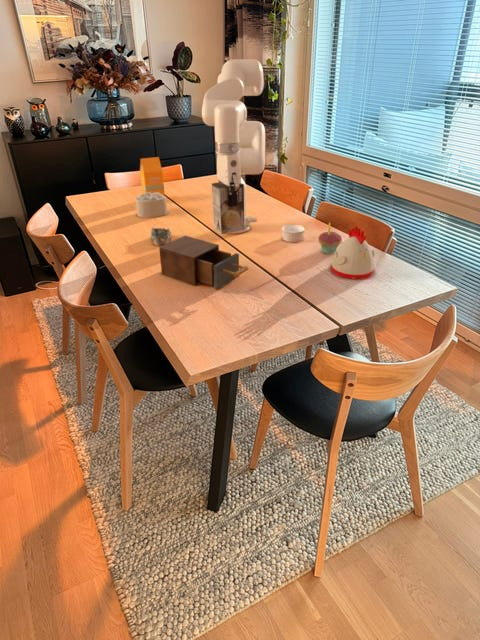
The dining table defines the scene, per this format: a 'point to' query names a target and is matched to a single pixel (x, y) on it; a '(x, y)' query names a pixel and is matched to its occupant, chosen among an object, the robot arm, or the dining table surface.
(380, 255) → the dining table surface
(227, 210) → the coffee box
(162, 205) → the lumpy-topped squat cylinder
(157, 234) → the egg carton
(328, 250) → the cupcake
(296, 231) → the ramekin
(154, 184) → the orange juice
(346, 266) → the kitchen timer
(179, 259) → the cabinet
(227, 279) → the drawer
